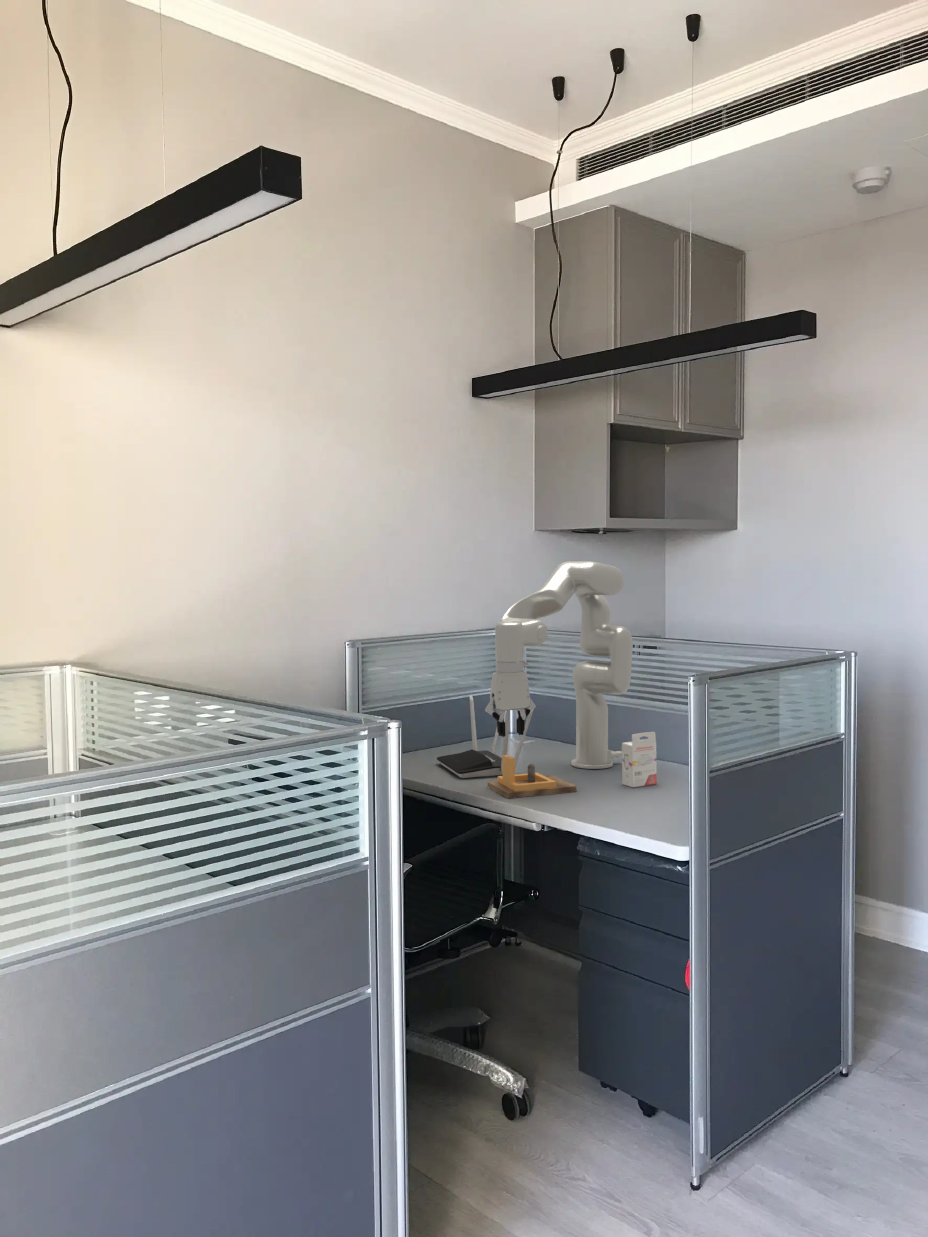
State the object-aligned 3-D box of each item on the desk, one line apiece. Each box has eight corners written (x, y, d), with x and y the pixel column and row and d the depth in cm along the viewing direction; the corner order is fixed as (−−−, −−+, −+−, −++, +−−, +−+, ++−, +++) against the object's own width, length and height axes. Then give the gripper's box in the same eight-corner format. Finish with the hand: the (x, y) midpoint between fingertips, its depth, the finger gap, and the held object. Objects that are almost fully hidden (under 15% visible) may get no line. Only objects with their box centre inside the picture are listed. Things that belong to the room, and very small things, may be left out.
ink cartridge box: (645, 780, 277) (646, 728, 276) (657, 784, 272) (657, 731, 271) (621, 784, 273) (621, 731, 272) (632, 787, 268) (632, 734, 267)
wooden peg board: (553, 780, 277) (553, 756, 277) (576, 791, 264) (576, 765, 264) (487, 787, 270) (487, 762, 270) (508, 798, 257) (507, 772, 257)
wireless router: (430, 760, 306) (430, 697, 305) (500, 755, 313) (500, 693, 312) (464, 784, 274) (464, 713, 273) (541, 778, 281) (541, 708, 280)
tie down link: (537, 778, 274) (537, 749, 274) (556, 787, 263) (556, 757, 263) (497, 781, 270) (497, 752, 270) (515, 791, 259) (515, 761, 258)
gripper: (532, 664, 269) (533, 729, 271) (475, 668, 263) (476, 735, 265) (544, 667, 263) (545, 734, 264) (485, 671, 256) (487, 740, 258)
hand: (511, 734), depth 264 cm, fingers open, 4 cm apart
